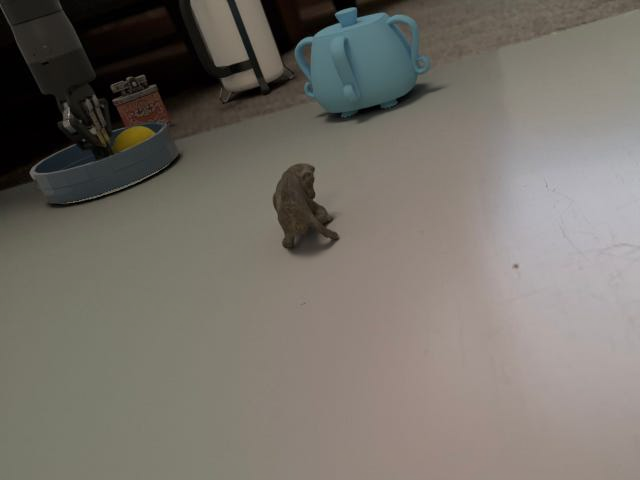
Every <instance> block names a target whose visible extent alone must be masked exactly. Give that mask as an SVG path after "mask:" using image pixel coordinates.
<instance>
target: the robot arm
mask: <svg viewBox="0 0 640 480" xmlns="http://www.w3.org/2000/svg"><path fill="white" fill-rule="evenodd" d="M0 9H1V11H2V13H3V15H4V17H5V19H6V21H7V23H8V24H9V25H8V26H10V28H11V31H12V33H13V36H14V39H15V43H16V44H17V47H18V49H19V51H20V53H21V55H22V57H23V58H24V60H25V62H26V65H27V67H28V68H29V70H30V72H31V74H32V76H33V78H34V80H35V82H36V84H37V86H38V88H39V90H40V93H42V94H43V95H45V96H51V95H53V96H54V97H55V100H56V102H57V103H56V104H57V107H58V110H59V111H60V112H61V114H62V120H60V121H58V122H57V127H58V129H59V130H60V131H61V132H62V133H63V134H64V135H65V136H66V137H67V138H68V139H70V141H71V142H72V143H73V144H74V145H75V144H76V145H77V146H78V147H79V148H80V149H81V150H82V151H85V150H88V151H92V153H93V155H94V157H95V159H96V161H97V160H99V159H102V158H105V157H108V156H111V155H113V154H114V153H113V151H112V149H111V147H110V145H109V144H110V139H109V137H111V136H113V133H112V131H113V127H112V121H111V115H110V110H109V103H108V100H107V99H106V98H105V97H103V98H102V97H101V98H99V99H98V97H97V95H96V93H95V91H94V90H93V88H92V86H91V85H90V84H89V83H90V82H92V81H94V80H95V79H96V77H97V75H96V72H95V70H94V67H93V66H92V64H91V61H90V60H89V58H88V55H87V53H86V51H85V49H84V47H83V44H82V43H81V40H80V38H79V36H78V34H77V32H76V30H75V28H74V26H73V24H72V23H71V21H70V19H69V18H68V16H67V15H66V13H65V11H64V10H63V7H62V5H61V3H60V0H0Z"/></svg>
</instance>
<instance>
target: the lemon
mask: <svg viewBox="0 0 640 480" xmlns="http://www.w3.org/2000/svg"><path fill="white" fill-rule="evenodd" d="M154 134H156V133H155V132H153V131H152V130H151V129H149V128H147V127H143V126H136V127H132V128H129V129H126V130H125V131H123V132H122V133H120V134H119V135H118V136H117V137H116V139H115V141H114V144H113V153H114V154H116V153H118V152H121V151H123V150H126V149H128V148H130V147H132V146H134V145H136V144H138V143H140V142H142V141H144V140H146V139H148V138H149V137H151V136H153V135H154Z"/></svg>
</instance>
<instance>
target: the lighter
mask: <svg viewBox="0 0 640 480" xmlns="http://www.w3.org/2000/svg"><path fill="white" fill-rule="evenodd" d="M147 81H148V80H147V77H146V75H145V74H141V75H138V76H136V77H134V76H128V77H126V79H125V80H121V81H118V82H115V83H113V84H111V85H110V90H111V92H112V93H113V94H115V93H118V92H120V93H121V96H119V97H116V98H114V99H111V100H112V103H113V105H114V106H115V107H116V110H117V111H118V112H117V113H118V114H119V116H120V118H121V120H122V122H123V124H124V126H125V127H128V126H132V125H137V124H142V123H147V122H158V121H159V122H164V123H166V124H167V126H168V128H169V130H171V129H173V128H174V127H175V124H174V122H173V120H172V119H171V118H170V115H169V113H168V111H167V108H166V106H165V104H164V102H163V99H162V97H161V95H160V93H159V88H158V86H157V84H151V85H148V82H147ZM125 89H127V91H126V90H125Z"/></svg>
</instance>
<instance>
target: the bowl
mask: <svg viewBox="0 0 640 480" xmlns="http://www.w3.org/2000/svg"><path fill="white" fill-rule="evenodd" d="M136 126H143V127H147V128H149V129H151V130H152V131H153V132H155V133H156V134H154V135H153V136H151V137H149V138H148V139H146V140H144V141H142V142H140V143H138V144H136V145H134V146H132V147H130V148H128V149H126V150H123V151H121V152H118V153H116V154H113V155H111V156H108V157H105V158H102V159H99V160H97V161H96V159H95V157H94V155H93V153H92V151H88V150H85V151H82V150H81V149H80V148H79V147H78V146H77V145H76V144H75V143H74V144H72V145H70V146H68V147H66V148H63V149H61V150H59V151H57V152H55V153H52V154H51V155H49V156H47V157H45V158H43V159H42V160H40V161H39V162H37V163H36V164H35V165H33V166H32V167H31V169H30V171H29V175H30V177H31V178H32V180H33V182H34V184H35V186H36V187H37V190H38V191H39V193H40V195H41V197H42V199H43V200H44V201H45V202H47V203H48V204H56V205H62V204H61V203H67V202H73V201H79V200H82V199H86V198H89V197H93V196H97V195H101V194H103V193H105V192H108V191H111V190H114V189H117V188H120V187H123V186H125V185H128V184H130V183H132V182H135V181H137V180H140V179H142V178H144V177H146V176H148V175H150V174H152V173H154V172H156V171H158V170H160V169H162V168H163V167H165V166H166V165H168V164H169V163H171V162H172V161H173V162H174V160H175V159H176V158H177V157H178V156H179V155H180V154H179V148H178V146H177V144H176V142H175V140H174V138H173V135H172V133H171V131H170V129H169V128H168V126H167V124H166V123H164V122H159V121H158V122H147V123H142V124H137V125H132V126H128V127H126V126H125V127H122V128H117V129H114V130H112V133H113V136H111V137H109V139H110V144H109V145H110V147H111V149H112V151H113V144H114V141H115V139H116V137H117V136H118V135H119V134H120V133H122V132H123V131H125V130H126V129H129V128H132V127H136ZM173 162H172V163H173ZM172 163H171V164H172Z"/></svg>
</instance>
